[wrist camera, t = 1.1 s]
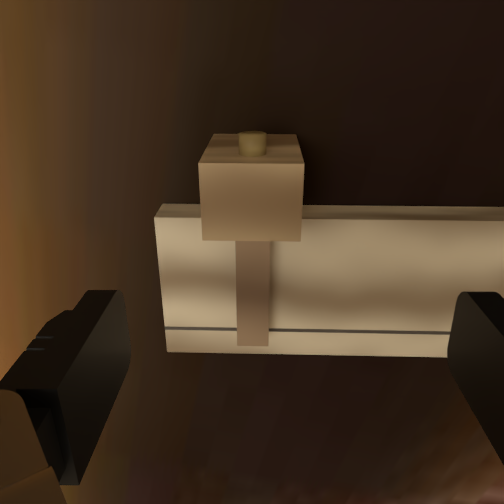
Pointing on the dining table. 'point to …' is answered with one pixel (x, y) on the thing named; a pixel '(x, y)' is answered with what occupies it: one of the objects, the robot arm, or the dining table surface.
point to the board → (334, 279)
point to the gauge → (252, 213)
